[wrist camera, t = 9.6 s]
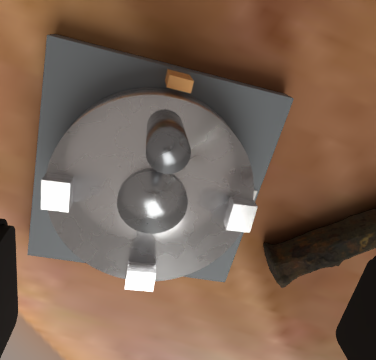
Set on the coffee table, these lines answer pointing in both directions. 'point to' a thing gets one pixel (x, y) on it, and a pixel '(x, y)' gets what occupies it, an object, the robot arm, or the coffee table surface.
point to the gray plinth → (131, 79)
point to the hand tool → (321, 247)
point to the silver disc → (149, 186)
